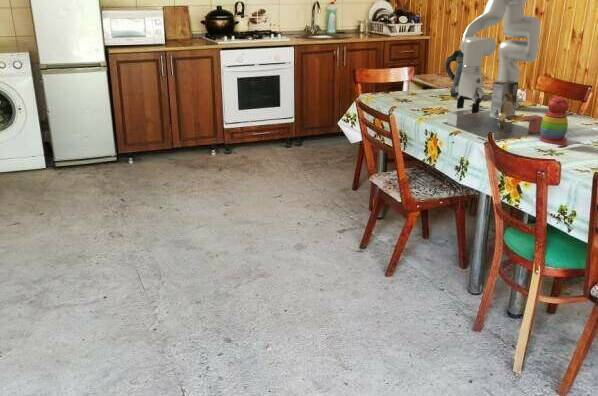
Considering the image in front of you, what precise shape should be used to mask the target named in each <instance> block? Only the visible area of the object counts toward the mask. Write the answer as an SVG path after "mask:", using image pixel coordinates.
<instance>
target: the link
mask: <svg viewBox="0 0 598 396" xmlns="http://www.w3.org/2000/svg"><path fill="white" fill-rule="evenodd" d="M490 111H491V110H489V109H485V108H480V107H479V112H478V113H472V108H471V109H464V110H462V109H461V110H455V111H449V112H447V121H446V122H447V124H449V125H452V126H455V127H459V126H466V125H473V124H482V123H489V120H490V117H491V115H490ZM449 125H448V126H449ZM452 126H451V127H452ZM455 127H454V128H455Z"/></svg>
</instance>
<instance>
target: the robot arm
mask: <svg viewBox="0 0 598 396" xmlns="http://www.w3.org/2000/svg"><path fill="white" fill-rule="evenodd" d="M529 1H530V0H487V1H486V5H485V7H484V9H483V12H482V14H480V15H478V16H477V17H476V18H475V19H474V20H472V22H470V23H469V24H468V25H467V27H466V28H465V31H464V33H463V36H462V39H461V40H460V41H461V42H460V50H461V51H462V53H464V56H463V67H462V73H461V77H460V81H459V86H458V87H456V88H455V91H456V96H457V98H456V99H457V101H456V109H457V110H459V109H464V106H465V105H464V104H465V99H463V98H464V97H468V98H472V99H471V100H472V102H473V103H472V105H471V106H472V107H471V109H472V113H478V112H479V108H480V104H481V102H482V101H483V99H484V97H485V93H484V91H483V92H482V90H483V74H482V73H481V72H482V64H483V63H482V62H483V57H489V56H492V55H493V54H494V53H495V51H496V49H497V42H496V40H495V39H494V38H492V37H483V36H476V34H478V33H480V32H481V31H482V30H485V29H488V28H490V27H493V26H496V25H498V24H500V23H501V22H503V23H502V24H503V25H502V32H503V36H505V37H507V38H513V39H506V40H503V41H501V42H500V44H499V46H498V53H497V54H498V71H497V77H496V78H497V80H496V82H499V81H507V80H509V81H514V82H518V83H519V78H520V67H519V65H518V64H517V62H518V63H519V62H520V63H533V62H535V61H536V59H537V58H538V54H539V46H540V33H541V22H540V20H539V18H537V17H536V16H525V13H524V12H525V3H527V2H529ZM514 38H515V39H514ZM520 39H525V40H520ZM475 98H476V99H475ZM523 102H524V98H523V97H520V98H518V97H517V99H516V108H515V110H517V109H519V103H523Z"/></svg>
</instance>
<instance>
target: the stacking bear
mask: <svg viewBox="0 0 598 396" xmlns="http://www.w3.org/2000/svg"><path fill="white" fill-rule="evenodd" d="M547 107H548V111H547V112H546V113H545V114H544V116H543V117H542V123H541V130H540V132H541V134H540V135H541V137H540V138H539V141H540V142H542V143H546V144H550V145H555V146H557V148H562V149H563V148H567V147H568V143H567V141H568V138H566V134H567V131H568V127H569V123H568V115H567V112H568V110H569V109H570V107H571V106H570V104H569V103H568V102H567V101H566V98H564V97H559V95H557V96H554V97H552V98H551V99H550V100H549V102H548V106H547Z"/></svg>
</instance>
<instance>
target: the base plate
mask: <svg viewBox="0 0 598 396" xmlns="http://www.w3.org/2000/svg"><path fill="white" fill-rule="evenodd" d="M498 122H499V118H497V117H494V116H490V120H489V123H482V124H473V125H466V126H459V127H455V126H452V125H449V124H447V121H446V122H443V121H442V124H444V125H447V126H449V127H452V128H455V129H459V130H460V131H461V130H462V131H464V132H467V133H469V134H472V135H475V136H477V137H476V138H477V139H480V140H482V141H485V142H488V139H487V135H488V133H489V132H493V133H494V139H495V141H501V140H502V141H503V140H508V139H513V138H519V137H527V136H528V137H529V136H533V135H541V131H540V132H537V133H533V132H530V131H528V128H529V127H526V126H522V125H518V124H516V123H512V122H509V121H506V120H505V127H499V126H498ZM478 136H479V137H478Z"/></svg>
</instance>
